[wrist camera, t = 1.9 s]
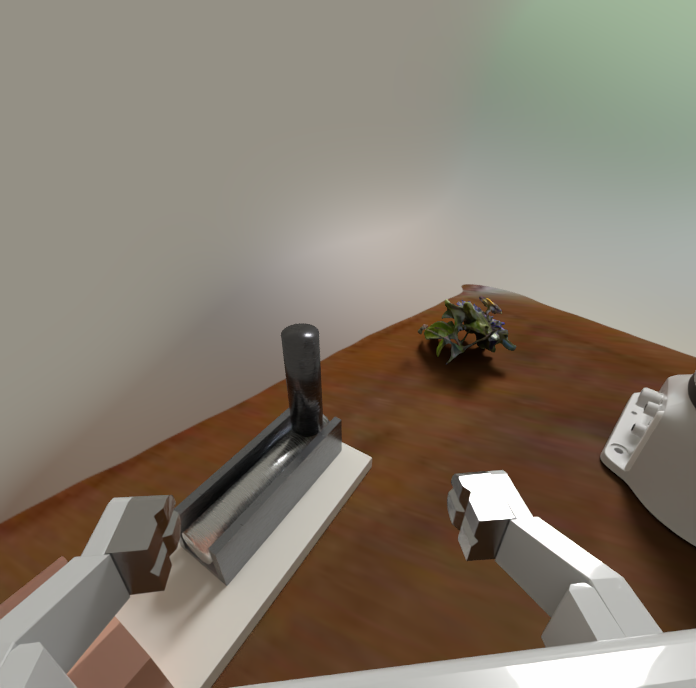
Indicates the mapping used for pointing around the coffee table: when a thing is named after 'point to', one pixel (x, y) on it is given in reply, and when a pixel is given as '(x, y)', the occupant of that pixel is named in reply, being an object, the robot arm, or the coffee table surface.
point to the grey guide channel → (269, 505)
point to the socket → (102, 650)
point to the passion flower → (469, 327)
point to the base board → (234, 586)
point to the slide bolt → (306, 426)
